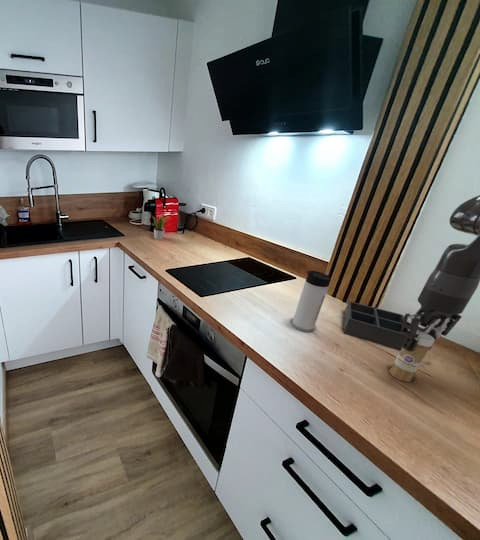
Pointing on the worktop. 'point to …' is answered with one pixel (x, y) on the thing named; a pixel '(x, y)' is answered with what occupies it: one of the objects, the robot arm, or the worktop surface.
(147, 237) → the worktop surface
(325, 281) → the travel mug
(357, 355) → the worktop surface
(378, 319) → the box
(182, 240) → the worktop surface
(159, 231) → the house plant
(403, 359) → the sprinkles bottle
